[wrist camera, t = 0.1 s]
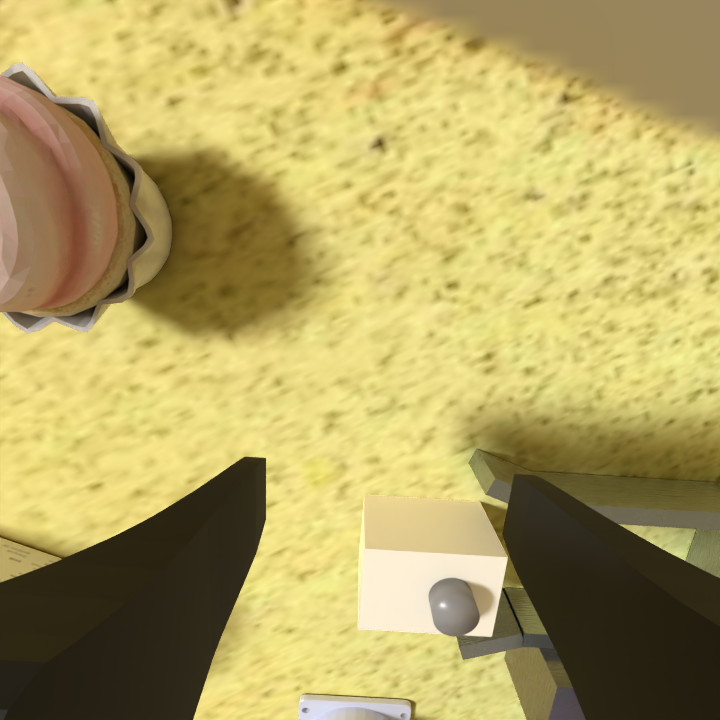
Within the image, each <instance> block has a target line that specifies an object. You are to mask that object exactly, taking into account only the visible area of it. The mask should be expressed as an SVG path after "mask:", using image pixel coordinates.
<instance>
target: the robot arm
mask: <svg viewBox="0 0 720 720" xmlns="http://www.w3.org/2000/svg"><path fill="white" fill-rule="evenodd" d="M265 520H266V458H257V457H244V458H242V459H240V460H239V461H237V462H236V463H234V464H233V465H231V466H230V467H229V468H227V469H226V470H224V471H223V472H221V473H220V474H219V475H217V476H216V477H214V478H213V479H211V480H210V481H208V482H207V483H205V484H204V485H202V486H201V487H200V488H198V489H197V490H195V491H194V492H192V493H190V494H189V495H187V496H185V497H184V498H182V499H181V500H179V501H177V502H176V503H174V504H172V505H171V506H169V507H168V508H166V509H164V510H163V511H161V512H159V513H158V514H156V515H154V516H152V517H150V518H149V519H147V520H145V521H143V522H141V523H139V524H137V525H135V526H133V527H132V528H130V529H128V530H126V531H124V532H122V533H120V534H118V535H116V536H114V537H111V538H109V539H107V540H105V541H103V542H100V543H98V544H96V545H94V546H91V547H89V548H87V549H84V550H82V551H80V552H77V553H75V554H73V555H71V556H68V557H66V558H64V559H61V560H59V561H57V562H54V563H51V564H49V565H46V566H44V567H41V568H38V569H36V570H33V571H31V572H28V573H25V574H23V575H20V576H17V577H14V578H11V579H9V580H6V581H3V582H0V720H193V718H194V715H195V712H196V708H197V705H198V702H199V699H200V696H201V693H202V690H203V687H204V684H205V681H206V678H207V675H208V672H209V669H210V665H211V662H212V659H213V657H214V654H215V651H216V649H217V646H218V643H219V641H220V638H221V636H222V633H223V631H224V629H225V626H226V624H227V621H228V619H229V617H230V614H231V612H232V610H233V607H234V605H235V603H236V600H237V598H238V595H239V593H240V591H241V588H242V586H243V584H244V581H245V579H246V577H247V574H248V572H249V569H250V567H251V564H252V562H253V560H254V557H255V555H256V552H257V549H258V545H259V542H260V538H261V535H262V531H263V528H264V524H265ZM503 537H504V540H505V543H506V546H507V549H508V552H509V554H510V557H511V560H512V562H513V565H514V568H515V570H516V572H517V574H518V576H519V578H520V580H521V582H522V585H523V587H524V589H525V591H526V593H527V595H528V597H529V599H530V601H531V603H532V605H533V606H534V608H535V610H536V612H537V614H538V616H539V618H540V620H541V622H542V624H543V626H544V628H545V630H546V632H547V634H548V636H549V638H550V640H551V642H552V644H553V646H554V648H555V650H556V652H557V654H558V656H559V658H560V660H561V662H562V664H563V667H564V669H565V671H566V673H567V675H568V677H569V680H570V682H571V684H572V687H573V689H574V692H575V694H576V697H577V699H578V702H579V704H580V707H581V709H582V712H583V714H584V717H585V719H586V720H720V578H719V577H717V576H714V575H712V574H710V573H708V572H706V571H704V570H702V569H700V568H698V567H696V566H694V565H692V564H690V563H688V562H686V561H684V560H682V559H680V558H678V557H676V556H674V555H672V554H670V553H668V552H667V551H665V550H663V549H661V548H659V547H657V546H655V545H654V544H652V543H650V542H648V541H646V540H645V539H643V538H641V537H639V536H638V535H636V534H634V533H632V532H630V531H629V530H627V529H625V528H624V527H622V526H620V525H618V524H617V523H615V522H613V521H612V520H610V519H608V518H607V517H605V516H603V515H602V514H600V513H599V512H597V511H595V510H594V509H592V508H590V507H589V506H587V505H586V504H584V503H582V502H581V501H579V500H577V499H576V498H574V497H573V496H571V495H569V494H568V493H566V492H565V491H563V490H561V489H560V488H558V487H556V486H555V485H553V484H551V483H549V482H548V481H546V480H544V479H542V478H540V477H538V476H536V475H526V474H514V477H513V482H512V488H511V493H510V498H509V503H508V508H507V513H506V519H505V524H504V529H503ZM411 711H412V710H411V703H410V702H409V701H408V700H405V699H386V698H368V697H349V696H331V695H312V694H304V695H302V696H301V697H300V701H299V720H410V718H411Z"/></svg>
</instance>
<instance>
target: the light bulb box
mask: <svg viewBox="0 0 720 720" xmlns="http://www.w3.org/2000/svg"><path fill="white" fill-rule="evenodd" d="M59 560H61V558H59V557H56V556H53V555H50V554H47V553H44V552H41V551H38V550H35V549H32V548H29V547H26V546H24V545H21V544H18V543H15V542H12V541H9V540H6V539H3V538H0V582H3V581H6V580H9V579H11V578H14V577H17V576H20V575H23V574H25V573H28V572H31V571H33V570H36V569H38V568H41V567H44V566H46V565H49V564H51V563H54V562H57V561H59Z"/></svg>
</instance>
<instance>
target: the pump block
mask: <svg viewBox="0 0 720 720" xmlns="http://www.w3.org/2000/svg"><path fill="white" fill-rule="evenodd" d="M507 560H508V556H507V554H506V552H505V550H504V548H503V546H502V544H501V542H500V540H499V538H498V536H497V534H496V532H495V530H494V528H493V526H492V524H491V522H490V520H489V519H488V517H487V515H486V513H485V511H484V509H483V507H482V505H481V503H480V501H469V500H453V499H437V498H421V497H405V496H390V495H374V494H364V501H363V514H362V526H361V539H360V551H359V571H358V629H363V630H380V631H397V632H415V633H432V634H445V635H449V636H462V635H467V636H484V637H492V634H493V629H494V624H495V619H496V614H497V609H498V604H499V599H500V594H501V590H502V585H503V580H504V575H505V570H506V565H507Z"/></svg>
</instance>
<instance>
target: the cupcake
mask: <svg viewBox="0 0 720 720" xmlns="http://www.w3.org/2000/svg"><path fill="white" fill-rule="evenodd" d="M171 242H172V220H171V217H170V213H169V210H168V207H167V204H166V202H165V200H164V198H163V196H162V194H161V192H160V190H159V188H158V187H157V185H156V184H155V182H154V181H153V180H152V179H151V178H150V177H149V176H148V175H147V174H146V173H145V172H144V171H143V170H142V167H141V166H140V165H139V164H138V163H137V162H136V161H135V160H134V159H133V158H131V157H130V156H128V155H127V154H126V153H125V152H124V151H123V150H122V149H121V147H120V146H119V145H118V144H117V143H116V141H115V139H114V137H113V136H112V134H111V132H110V130H109V128H108V126H107V125H106V123H105V121H104V119H103V117H102V115H101V113H100V112H99V110H98V108H97V106H96V104H95V102H94V101H93V100H90V99H87V98H84V97H57V96H56V95H55V94H54V93H53V92H52V90H51V89H50V88H49V87H48V86H47V85H46V84H45V83H44V82H43V81H42V80H41V79H40V78H39V76H38V75H37V74H36V73H35V72H34V71H33V70H32V69H30V68H29V67H28V66H27V65H25V64H24V63H23V62H22V63H19V64H16V65H12V66H11V67H10V68H8V69H7V70H6V71H5V72H3V73H2V74H1V75H0V312H2V313H3V314H4V315H5V316H6V317H7V318H8V319H9V320H10V321H11V322H12V323H13V324H14V325H15V326H16V327H18V328H19V329H21V330H23V331H24V332H26V333H32V332H36V331H40V330H41V329H43V328H44V327H46V326H48V325H49V324H51V323H52V322H54V321H55V322H57V323H60V324H62V325H65V326H67V327H70V328H72V329H75V330H77V331H83V332H88V331H89V330H90V329H91V328H92V327H93V326H94V324H95V323H96V322H97V321H98V319H99V318H100V317H101V316H102V314H103V313H104V312H105V311H106V309H107V308H108V307H109V306H110V304H113V303H122V302H123V301H125V300H127V299H129V298H130V297H132V296H133V294H134V292H135V290H136V289H137V288H139V287H140V286H142V285H144V284H146V283H148V282H150V281H151V280H152V279H153V278H154V277H155V276H156V275H157V274H158V272H159V271H160V270H161V269H162V267H163V265H164V264H165V262H166V260H167V258H168V256H169V252H170V248H171Z"/></svg>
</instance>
